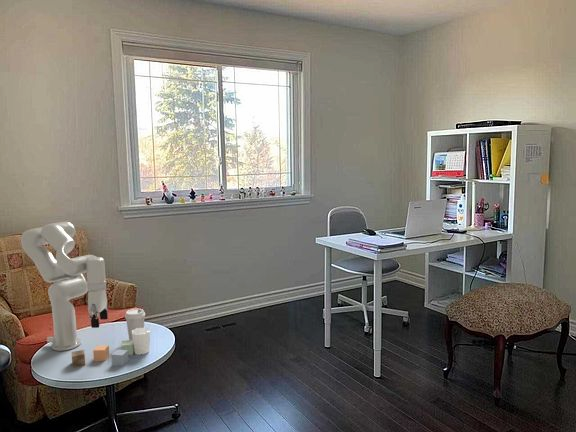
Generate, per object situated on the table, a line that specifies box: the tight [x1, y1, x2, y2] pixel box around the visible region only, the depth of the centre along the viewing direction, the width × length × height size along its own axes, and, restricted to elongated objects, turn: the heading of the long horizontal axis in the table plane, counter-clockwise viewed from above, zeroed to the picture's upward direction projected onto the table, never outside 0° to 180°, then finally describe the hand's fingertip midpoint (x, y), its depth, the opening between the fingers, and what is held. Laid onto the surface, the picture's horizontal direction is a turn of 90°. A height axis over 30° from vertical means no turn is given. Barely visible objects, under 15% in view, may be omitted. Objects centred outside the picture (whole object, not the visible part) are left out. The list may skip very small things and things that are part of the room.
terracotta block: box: [92, 344, 110, 362], centre depth 201 cm, size 5×5×5 cm
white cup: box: [132, 327, 151, 356], centre depth 207 cm, size 8×8×10 cm
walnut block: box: [71, 349, 86, 368], centre depth 196 cm, size 5×5×5 cm
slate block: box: [111, 349, 129, 367], centre depth 197 cm, size 5×5×5 cm
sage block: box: [120, 340, 135, 356], centre depth 207 cm, size 5×5×5 cm
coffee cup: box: [124, 308, 146, 340], centre depth 219 cm, size 10×10×15 cm
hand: (99, 323), depth 199 cm, fingers open, 9 cm apart
